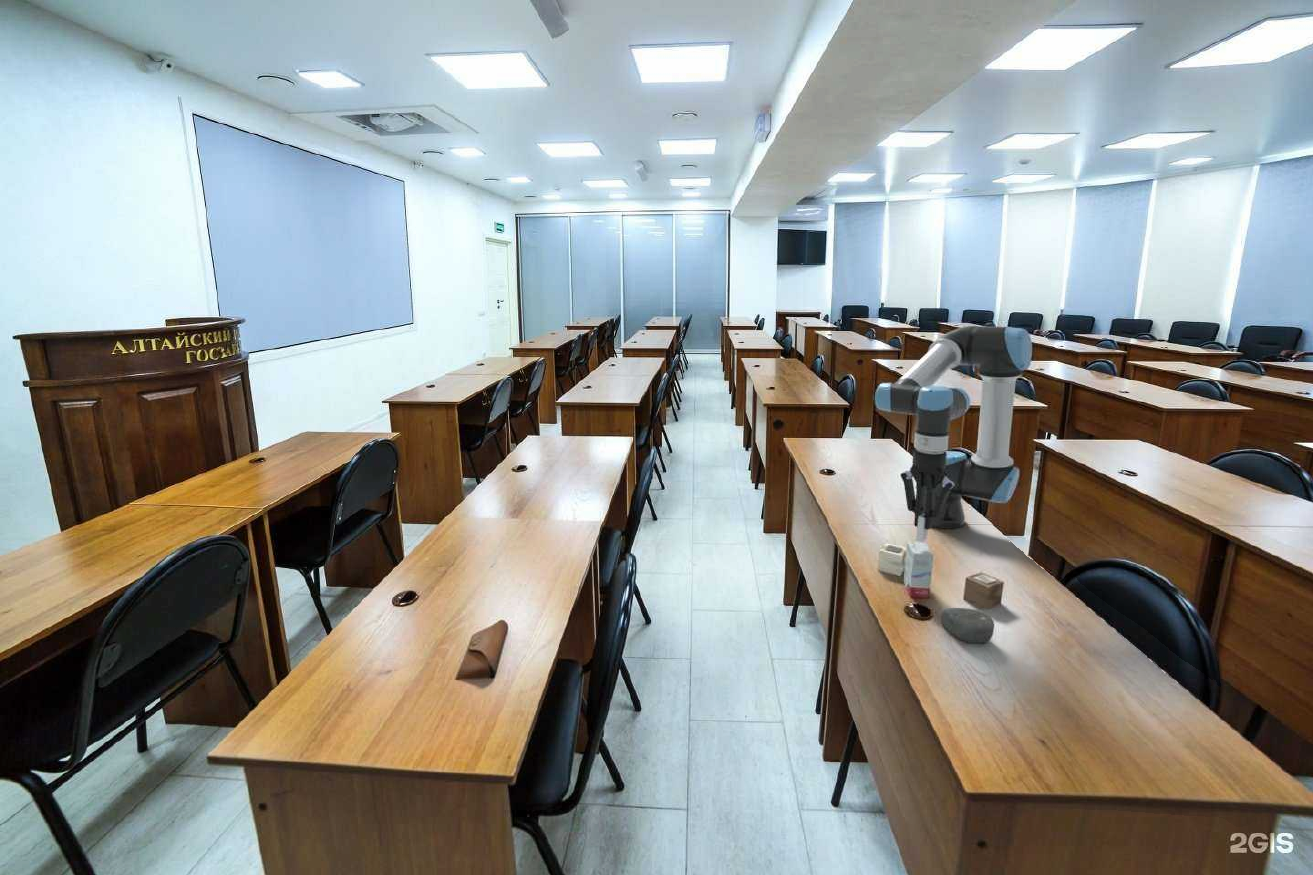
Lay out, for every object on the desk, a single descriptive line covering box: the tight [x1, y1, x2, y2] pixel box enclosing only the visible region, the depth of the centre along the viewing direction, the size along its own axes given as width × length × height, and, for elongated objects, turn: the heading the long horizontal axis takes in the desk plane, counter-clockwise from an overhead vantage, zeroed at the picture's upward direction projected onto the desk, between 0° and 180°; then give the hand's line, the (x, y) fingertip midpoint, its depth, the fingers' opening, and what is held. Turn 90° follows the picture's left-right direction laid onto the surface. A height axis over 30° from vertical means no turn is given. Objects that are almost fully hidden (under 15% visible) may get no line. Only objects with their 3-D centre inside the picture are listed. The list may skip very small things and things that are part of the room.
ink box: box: [903, 540, 934, 599], centre depth 158 cm, size 9×5×12 cm, turn 168°
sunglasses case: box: [455, 619, 509, 681], centre depth 134 cm, size 18×7×7 cm, turn 5°
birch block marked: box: [877, 542, 907, 577], centre depth 171 cm, size 6×6×6 cm
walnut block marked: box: [963, 571, 1005, 610], centre depth 153 cm, size 6×6×6 cm
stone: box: [940, 607, 995, 644], centre depth 139 cm, size 9×9×10 cm
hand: (921, 539), depth 156 cm, fingers closed
